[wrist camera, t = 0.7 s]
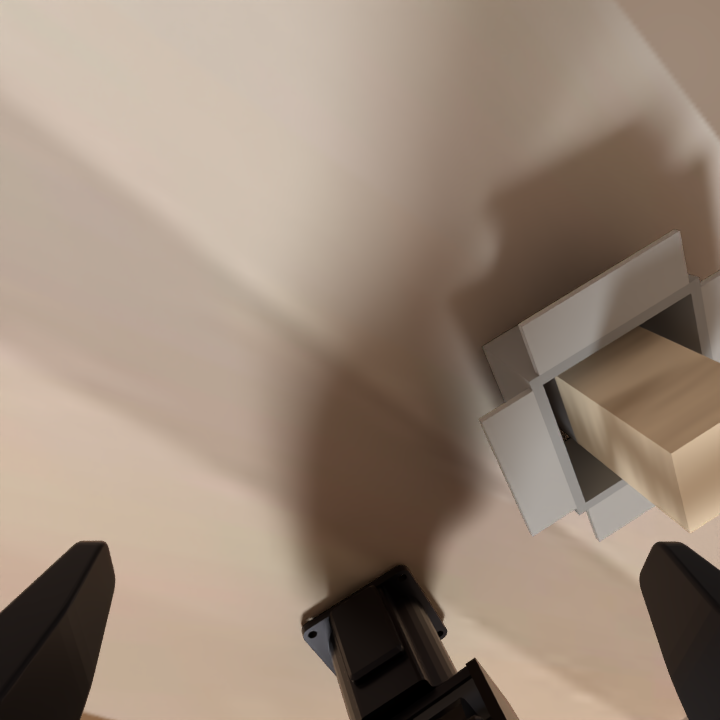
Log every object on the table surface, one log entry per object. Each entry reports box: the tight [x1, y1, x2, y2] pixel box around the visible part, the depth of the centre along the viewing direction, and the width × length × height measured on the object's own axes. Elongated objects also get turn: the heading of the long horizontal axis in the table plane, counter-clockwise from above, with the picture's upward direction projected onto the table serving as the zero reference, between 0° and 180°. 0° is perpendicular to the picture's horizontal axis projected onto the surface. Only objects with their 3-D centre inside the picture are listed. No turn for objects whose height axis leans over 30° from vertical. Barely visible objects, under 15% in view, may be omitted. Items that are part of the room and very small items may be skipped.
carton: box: [479, 229, 720, 542], centre depth 27 cm, size 14×14×4 cm
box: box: [543, 326, 720, 533], centre depth 25 cm, size 4×4×9 cm
